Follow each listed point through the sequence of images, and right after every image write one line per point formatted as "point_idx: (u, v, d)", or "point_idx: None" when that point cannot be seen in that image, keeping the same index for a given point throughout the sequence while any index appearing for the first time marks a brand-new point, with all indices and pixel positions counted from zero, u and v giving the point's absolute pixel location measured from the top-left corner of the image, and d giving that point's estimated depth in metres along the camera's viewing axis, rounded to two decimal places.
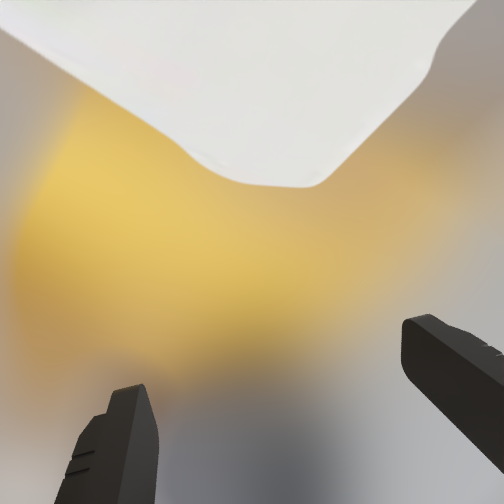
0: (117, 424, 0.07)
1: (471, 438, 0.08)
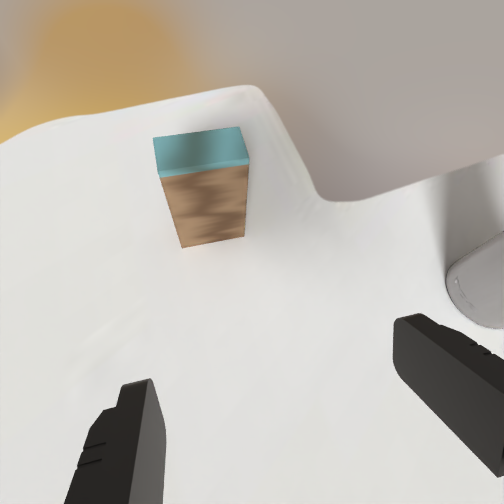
0: (127, 417, 0.07)
1: (460, 435, 0.08)
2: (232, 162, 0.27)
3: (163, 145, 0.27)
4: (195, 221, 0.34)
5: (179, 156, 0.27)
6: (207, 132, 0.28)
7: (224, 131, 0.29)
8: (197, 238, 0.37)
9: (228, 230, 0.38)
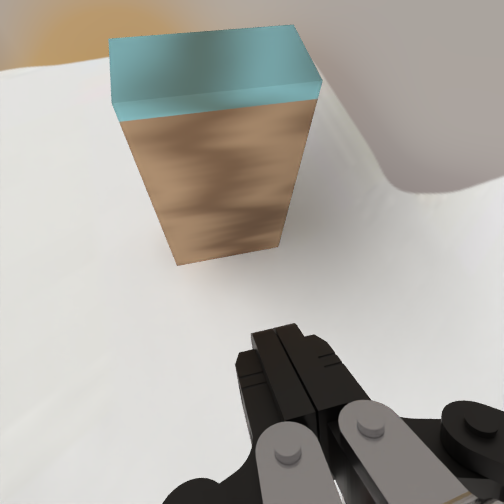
0: (272, 353, 0.09)
1: None
2: (285, 91, 0.12)
3: (130, 52, 0.12)
4: (199, 222, 0.19)
5: (165, 74, 0.12)
6: (227, 32, 0.13)
7: (263, 31, 0.13)
8: (202, 250, 0.22)
9: (254, 238, 0.22)
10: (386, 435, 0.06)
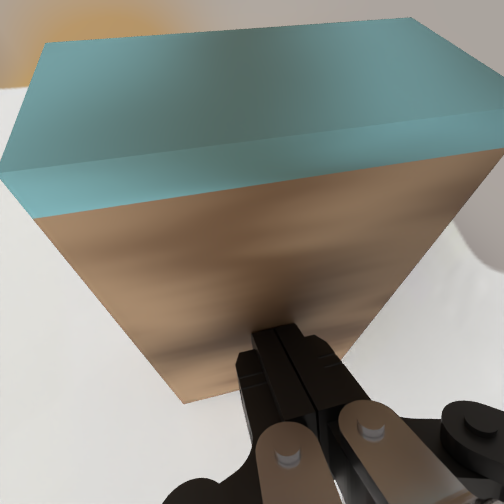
0: (272, 353, 0.09)
1: None
2: (453, 131, 0.05)
3: (85, 63, 0.05)
4: (222, 358, 0.11)
5: (159, 100, 0.05)
6: (290, 29, 0.07)
7: (360, 27, 0.07)
8: (224, 384, 0.14)
9: None
10: (386, 435, 0.06)
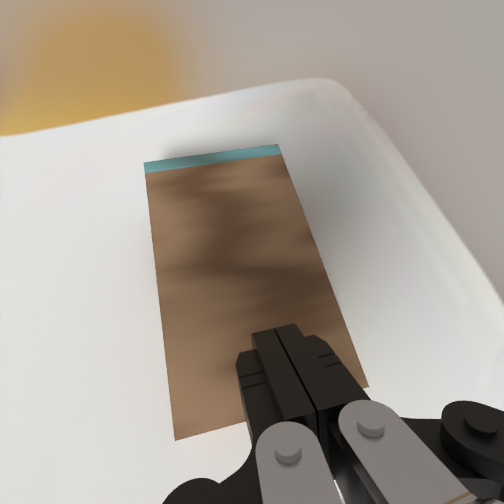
0: (272, 353, 0.09)
1: None
2: (255, 151, 0.18)
3: None
4: (208, 295, 0.14)
5: None
6: None
7: None
8: (222, 380, 0.13)
9: None
10: (386, 435, 0.06)
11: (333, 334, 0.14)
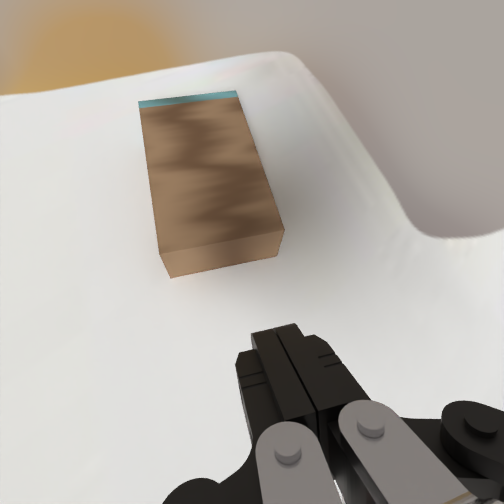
0: (272, 353, 0.08)
1: None
2: (219, 94, 0.26)
3: None
4: (182, 179, 0.21)
5: None
6: None
7: None
8: (189, 224, 0.20)
9: (246, 208, 0.21)
10: (386, 435, 0.06)
11: (264, 202, 0.21)
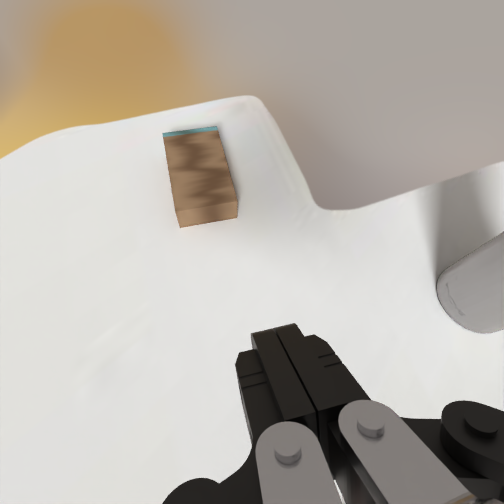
0: (272, 353, 0.08)
1: None
2: (207, 128, 0.46)
3: None
4: (186, 176, 0.41)
5: None
6: None
7: None
8: (190, 198, 0.40)
9: (218, 191, 0.41)
10: (386, 435, 0.06)
11: (228, 187, 0.41)
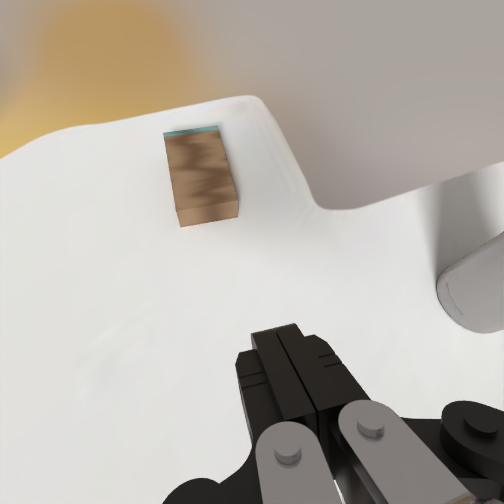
0: (272, 352, 0.09)
1: None
2: (207, 128, 0.46)
3: None
4: (187, 175, 0.41)
5: None
6: None
7: None
8: (190, 197, 0.40)
9: (219, 190, 0.41)
10: (386, 435, 0.06)
11: (229, 187, 0.41)
